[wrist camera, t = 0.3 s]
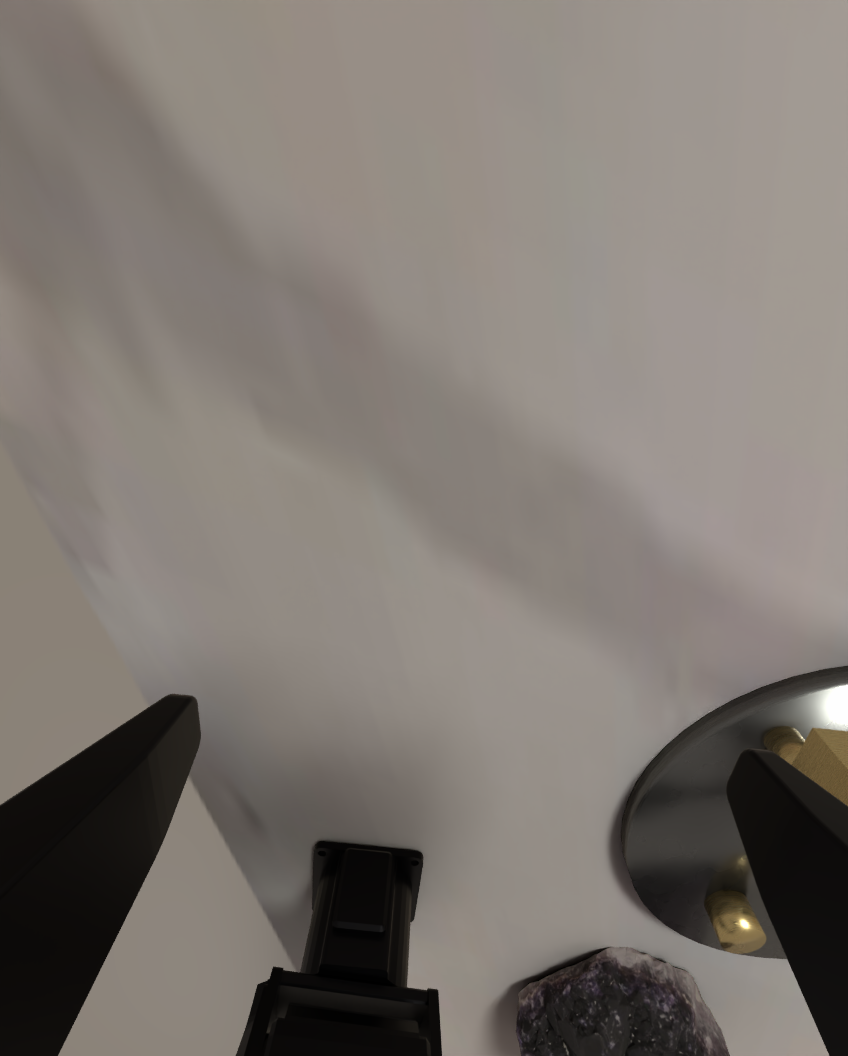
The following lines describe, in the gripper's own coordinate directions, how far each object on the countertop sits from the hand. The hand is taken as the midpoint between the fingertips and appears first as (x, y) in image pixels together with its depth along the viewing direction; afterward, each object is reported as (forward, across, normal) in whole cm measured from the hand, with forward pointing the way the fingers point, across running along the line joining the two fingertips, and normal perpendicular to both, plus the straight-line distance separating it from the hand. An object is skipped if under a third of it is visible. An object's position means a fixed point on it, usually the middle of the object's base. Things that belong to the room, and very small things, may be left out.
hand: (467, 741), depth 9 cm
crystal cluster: (+15, -16, +38) cm, 44 cm away
